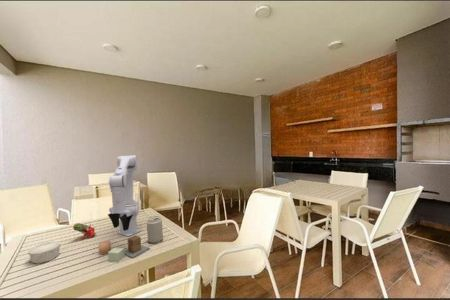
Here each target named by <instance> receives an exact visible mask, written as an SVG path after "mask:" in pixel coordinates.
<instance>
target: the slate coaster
mask: <svg viewBox="0 0 450 300" xmlns="http://www.w3.org/2000/svg"><path fill="white" fill-rule="evenodd" d="M150 249H151V248H150V247H148V246H146V245H142V244H141V250H139V251H137V252H135V253H131V252H129V251H128V248H126V249H124V252H125V257H128V258H131V259H136V258H137V257H138V256H140V255H142V254H143V253H146V252H147V251H149V250H150Z"/></svg>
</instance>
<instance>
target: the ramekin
mask: <svg viewBox="0 0 450 300" xmlns="http://www.w3.org/2000/svg"><path fill="white" fill-rule="evenodd" d="M60 247H61V242H59V241H48V242H45V243H41V244H38V245H36V246H34V247H31V248H30V249H29V250H28V253H27V254H28V255H29V257H30V261H31V262H32V263H33V264H43V263H46V262H50V261H52V260H54V259H55V258H57V257H58V255H59V253H60Z"/></svg>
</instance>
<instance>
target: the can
mask: <svg viewBox="0 0 450 300" xmlns="http://www.w3.org/2000/svg"><path fill="white" fill-rule="evenodd" d="M146 233H147V235H146V236H147V241H148V242H149V243H151V244H156V243H160V242H161V241H162V240H163V238H164V235H163V234H164V233H163V220H162V218H161V216H159V215H152V216H150V217H148V218H147V221H146Z"/></svg>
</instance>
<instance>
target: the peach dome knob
mask: <svg viewBox="0 0 450 300" xmlns="http://www.w3.org/2000/svg"><path fill="white" fill-rule="evenodd" d="M111 250H112V241H111V240H105V241H102V242H99V243H98V254H99V255H106V254H108V252H109V251H111Z"/></svg>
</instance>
